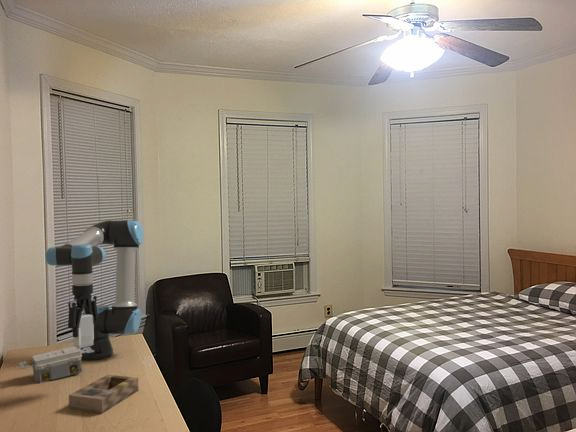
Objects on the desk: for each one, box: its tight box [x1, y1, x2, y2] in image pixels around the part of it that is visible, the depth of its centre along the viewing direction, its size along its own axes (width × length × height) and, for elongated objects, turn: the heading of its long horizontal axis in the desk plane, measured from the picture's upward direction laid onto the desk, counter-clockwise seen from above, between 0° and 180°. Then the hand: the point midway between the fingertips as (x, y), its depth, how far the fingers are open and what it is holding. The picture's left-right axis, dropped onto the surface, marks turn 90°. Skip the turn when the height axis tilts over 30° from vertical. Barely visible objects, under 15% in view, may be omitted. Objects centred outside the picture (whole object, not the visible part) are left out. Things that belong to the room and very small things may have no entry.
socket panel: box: [68, 374, 139, 415], centre depth 190 cm, size 22×14×5 cm, turn 163°
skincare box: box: [73, 314, 93, 349], centre depth 199 cm, size 6×4×12 cm
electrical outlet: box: [17, 345, 94, 384], centre depth 215 cm, size 12×28×10 cm, turn 125°
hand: (83, 342), depth 199 cm, fingers closed on skincare box, 7 cm apart
